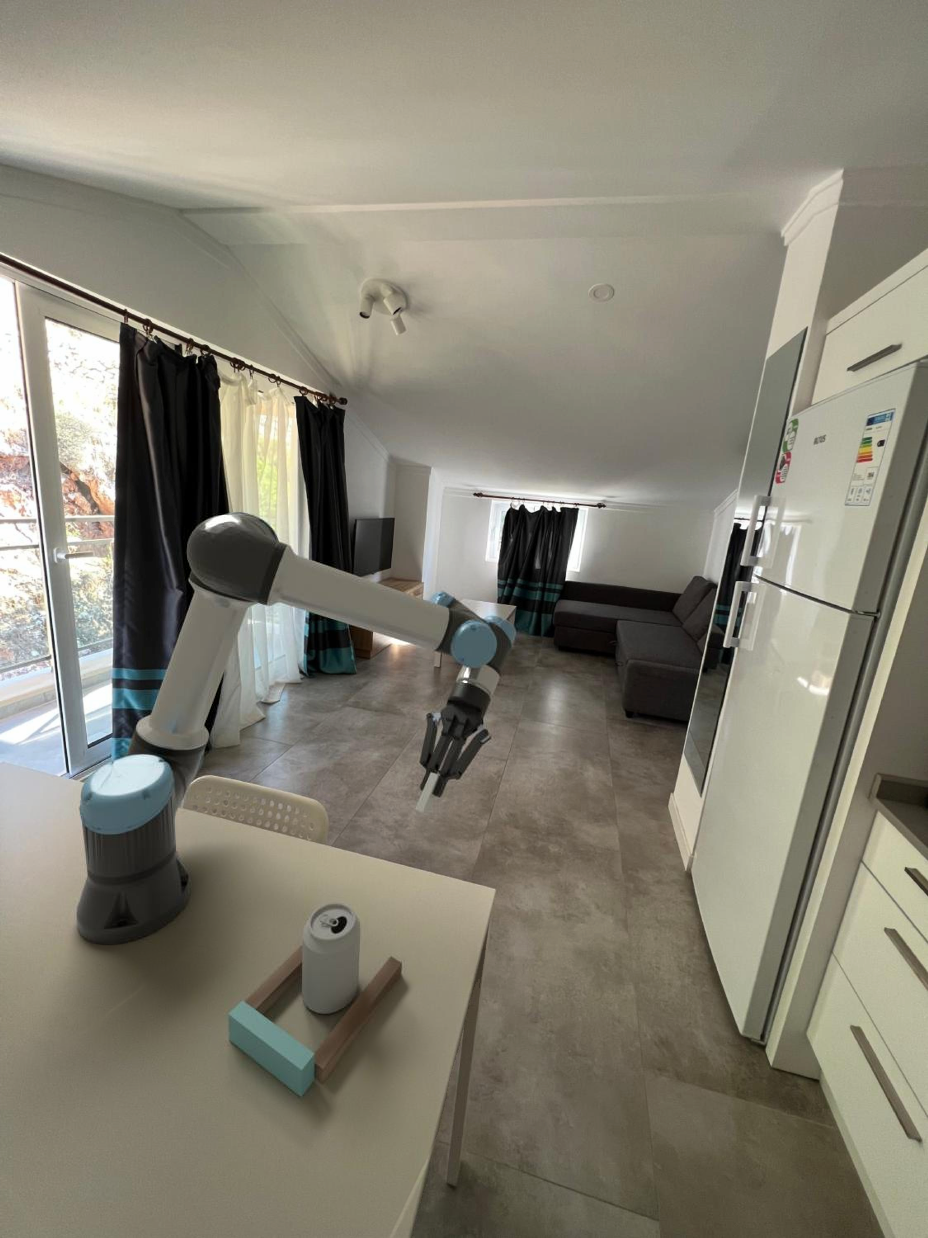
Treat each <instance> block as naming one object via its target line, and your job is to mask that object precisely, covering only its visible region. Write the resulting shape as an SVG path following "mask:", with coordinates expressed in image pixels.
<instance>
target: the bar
mask: <svg viewBox="0 0 928 1238" xmlns="http://www.w3.org/2000/svg"><path fill="white" fill-rule="evenodd" d="M244 1001H245V1000H241V1001H240V1002H239V1003H238V1004H237V1005H236V1006H235V1007H234V1008H233V1009H232V1010H231V1011H230V1012H229V1013H228V1015H227V1017H228V1018H227V1019H228V1040H229V1041H230V1042H231V1043H232V1044H234V1045H235V1046H236V1047H238V1049H240V1050H241V1051H243V1053H245V1054H246V1055H247V1056H249V1057H250V1058H251V1059H253V1061H255V1062H256V1063H258V1065H260V1066H262V1067H263V1069H265V1070H266V1071H267V1072H268V1073H270V1074H271V1075H273V1076H274V1077H275V1078H276V1079H277V1080H279V1081H280V1082H281V1083H282V1084H284V1085H285V1086H286V1087H287V1088H289V1089H290V1091H292V1092H294V1093H295V1094H296V1095H297V1096H299V1097H300V1098H302V1097H303V1096H304V1094H305V1093H307V1091H308V1089H310V1086H311V1085H312V1084H313V1083H314V1081H315V1077H314V1059H315V1054H314V1053H315V1052H313V1051H312V1050H310V1049H309V1048H307V1046H305V1045H303V1044H302V1043H301V1042H299V1041H298V1040H297V1039H296V1038H294V1037H293V1036H291V1035H290V1034H289V1033H287V1032H286V1031H284V1030H283V1029H282V1028H280V1027H279V1026H278V1025H277V1024H275V1023H274V1022H273V1021H271V1020H269V1018H268V1017H265V1016H264V1014H263V1015H262V1014H260V1013H259V1012H258V1011H256V1010H255V1009H253V1008H252V1007H251V1006H249V1005H248V1004H247V1003H245V1002H244Z"/></svg>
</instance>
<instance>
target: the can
mask: <svg viewBox="0 0 928 1238" xmlns="http://www.w3.org/2000/svg"><path fill="white" fill-rule="evenodd" d="M361 931H362V930H361V921H360V919H359V917H358V916H357V914H356V912H355V910H354V909H353V908H352V907H351V906H350V905H348V904H346V903H344V902H337V901H334V902H328V903H325V904H323V905H321V906H319V907H317V908H316V909H315V910H313V912H312V913H311V914H310V916H309V918H308V919H307V921H306V922H305V925H304V927H303V929H302V944H303V949H302V974H301V998H302V1000H303V1002H304V1004H305V1006H307V1008H308V1009H309V1010H311V1011H313V1012H314V1013H318V1014H326V1015H327V1014H333V1013H335V1012H338V1011H340V1010H342V1009H344V1008H345V1007H346V1006H348V1005H349V1004H350V1003H352V1000H354V997H355V996H356V994H357V990H358V988H359V973H360V972H359V971H360V948H361Z"/></svg>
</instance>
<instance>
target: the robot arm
mask: <svg viewBox="0 0 928 1238" xmlns="http://www.w3.org/2000/svg"><path fill="white" fill-rule="evenodd" d="M186 555H187V556H186V557H187V562H188V563H189V567H190V569H191V571H190V574H189V577H188V582H189V584H190V585H191V587H192V589H193V590H194V593H193V596H192V599H191V602H190V604H189V607H188V610H187V613H186V616H185V618H184V622H183V624H182V627H181V630H180V632H179V635H178V638H177V641H176V644H175V647H174V649H173V652H172V653H171V654H172V655H171V658H170V660H169V663H168V667H167V669H166V672H165V673H164V674H165V675H164V677H163V680H162V682H161V686H160V688H159V691H158V694H157V697H156V699H155V703H154V705H153V707H152V710H151V713H150V714H149V715H146V716H145V717H143V718H141V719H139V720H138V722H137V724H136V726H135V729H134V732H133V734H132V737H131V740H130V742H129V746H128V748H127V751H126V753H125V756H123V757H120V758H116V759H114V760H112V761H111V763H110V764H108V763H107V764H103V765H102V766H99V767H98V768H97V769H96V770H95V771H93V772H92V773H91V774H90V776H88V777H87V779H86V780H85V782H84V783H83V785H82V788H81V790H80V791H81V792H80V801H79V807H78V808H79V816H80V819H81V828H82V836H83V845H84V853H85V855H84V856H85V862H86V864H85V865H86V873H87V876H86V879H85V882H84V886H83V888H82V891H81V895H80V898H79V902H78V904H77V906H76V907H77V908H76V915H75V916H76V924H77V929H78V932H79V935H81V936H82V937H83V938H84V939H85V940H86V941H88V942H92V943H95V944H99V945H119V944H122V943H123V944H124V943H128V942H132V941H135V940H138V939H141V938H144V937H146V936H148V935H151V934H152V933H155V932H156V931H158V930H160V929H162V928H163V927H165V926H166V925H168V924H169V923H171V922H172V920H174V919H175V918H176V917H177V916H178V915H179V914H180V913H181V912H182V911H183V910H184V908H185V906H186V905H187V904H188V901H189V899H190V896H191V877H190V874H189V871H188V870H187V868H186V866H185V864H184V862H183V860H182V858H181V856H180V854H179V852H178V851H177V839H176V815H177V811H178V809H179V808H180V805H182V801H183V800H184V798H185V795H187V792H188V789H189V788H190V786H191V785H192V783H193V780H194V779H195V777H196V775H197V774H198V773H199V771H200V769H201V767H202V764H203V760H204V754H205V749H206V746H207V744H208V741H209V739H210V734H209V733H210V732H209V731H208V729H207V728H206V726H205V723H206V720H207V718H208V715H209V713H210V710H211V707H212V704H213V702H214V699H215V697H216V693H217V691H218V688H219V685H220V683H221V681H222V678H223V675H224V672H225V670H226V667H227V664H228V662H229V659H230V657H231V654H232V652H233V649H234V645H235V644H236V640H237V639H238V638H237V637H238V635H239V632H240V630H241V627H242V624H243V622H244V619H245V616H246V613H247V612H248V609H249V608H251V607H252V606H255V605H257V604H259V605H263V606H265V607H270V606H274V605H276V604H278V603H280V604H284V605H287V606H290V607H293V608H297V609H298V610H299V609H300V610H302V611H305V612H309V613H311V614H314V615H319V616H321V617H325V618H329V619H332V620H334V621H339V622H340V623H344V624H347V625H350V626H354V627H357V628H361V629H364V630H367V631H369V632H373V633H377V634H379V635H381V636H382V635H383V636H385V637H388V638H393V639H395V640H399V641H402V642H406V643H408V644H411V645H415V646H418V647H421V648H424V649H428V650H431V651H434V652H437V653H439V654H442V655H444V656H445V655H446V656H449V657H452V658H453V659H454V661H455V662H457V663H459V664H461V669H460V670H459V672H458V675H457V678H456V683H454V684H453V686H452V689H451V691H450V692H449V695H448V697H447V701H446V704H445V706H443V707H442V708H441V710H440V712H436V713H432V712H428V713H426V715H425V716H426V717H425V719H426V728H425V729H426V730H425V733H424V739H423V744H422V749H421V753H420V758H419V764H420V765H421V766H422V767H423V768H424V769H425V771H426V772H425V774H424V776H423V777H422V778H423V779H422V780H421V783H420V785H419V790H421V791H422V792H421V794H420V797H419V799H418V801H417V803H416V806H415V808H414V809H415V811H417V812H418V813H419V814H421V815H423V816H426V817H429V815H430V813H431V811H432V808H433V805H434V804H435V801H436V798H441V797H442V796H443V793H444V791H445V789H446V786H447V783H448V782H449V781H450V780H457V781H458V780H460V779H461V778H462V776H463V775H464V774H465V772H466V771H467V769H468V767H469V766H470V764H471V763H472V761H473V760H474V758H475V757H476V756H477V754H478V753H479V752H480V750H481V749H482V746H485V744H486V743H487V742H489V741H491V739H492V735H491V733H490V731H489V730H488V728H485V727H484V723H485V722H484V717H485V715H486V713H487V710H488V708H489V706H490V703H491V700H492V699H491V697H492V696H494V693H495V690H496V688H497V685H498V682H499V680H500V678H501V675H502V673H503V669H504V668H505V665H506V663H507V661H508V658H509V656H510V654H511V652H512V650H513V646H514V643H515V639H516V636H517V630H516V627H515V626H514V625H513V624H512V623H511V622H510V621H509V620H507V619H506V618H502V617H501V616H498V615H488V616H486V617H484V618H482V617H480V616H479V615H478V614H476V612H474V611H473V610H471V609H470V608H469V607H468V606H466V605H465V604H463V603H462V602H461V601H460V600H458V599H457V598H456V597H455V596H452V595H450V594H449V593H447V592H446V591H444V590H438V591H436V592H435V593H433V594H432V595H431V596H430V598H428V600H427V599H424V598H421V597H418V596H416V595H413V594H410V593H407V592H403V591H402V590H401V591H400V590H398V589H395V588H392V587H390V586H386V585H383V584H381V583H378V582H375V581H372V580H369V579H366V578H363V577H362V576H361V577H360V576H358V575H356V574H352V573H349V572H347V571H344V570H340V569H338V568H335V567H332V566H329V565H326V564H323V563H320V562H317V561H315V560H312V559H309V558H307V557H303V556H302V555H301V556H300V555H298V554H296V553H295V552H294V549H293V547H292V546H291V545H289V544H287V543H285V542H281V541H280V540H279V538H278V535H277V533H276V531H275V529H273V527H272V526H271V524H269V523H268V522H267V521H265V520H264V519H263V518H261V517H259V516H256V515H255V514H251V513H248V512H244V511H243V512H242V511H235V512H228V513H226V514H222V515H215V516H213V517H209V518H208V519H206V520H204V521H202V522H200V524H198V525H197V526H196V527H195V529H194V530H193V531H192V532H191V534H190V536H189V537H188V541H187V547H186ZM440 724H442V729H441V730H440V736H439V738H438V741H437V743H436V740H437V736H438V727H439V726H440ZM473 734H475V735H474V736H473V738H471V740H470V742H469V743H468V745H467V746H466V748H464V750H463V752H462V749H463V747H464V746H465V745H466V743H467V741H468V738H469V737H470V736H472V735H473ZM435 745H436V746H435ZM461 752H462V753H461Z"/></svg>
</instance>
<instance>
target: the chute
mask: <svg viewBox="0 0 928 1238" xmlns="http://www.w3.org/2000/svg"><path fill="white" fill-rule="evenodd" d="M302 949H303V943H302V944H301V945H300V946H299V947H298V948H297V949H296V950H295V951H294V952H293V953H292V954H291V955H290V956H289V957H288V958H287V959H286V960H285V961H284V962H283V963H282V964H281V965H280V966H279V967H278V968H277V969H276V970H274V972H272V974H271V975H269V977H268V978H267V979H265V980H264V981H263V982H262V983H261V984H260V985H259V987H257V988H256V989H255V990H254V991H253V992H252V993H251V994H250V995H249V996H248V997H247V998H246V999H244V1000H243V1001H244V1002H245V1003H247V1004H248V1005H249V1006H251V1007H252V1008H253V1009H255V1010H256V1011H258V1012H259V1013H260V1014H262V1015H263V1016H264V1015H265V1013H266V1012H267V1011H268V1010H269V1009H271V1007H272V1006H273V1005H274V1004H275V1003H276V1002H277V1001H278V1000H279V999H280V998H281V997H282V996H283V994H284V993H286V991H287V990H288V989H289V988H291V986H292V985H293V984H294V983H295V982H296V981H297V980H298V979H299V978H300V977H301V976H302ZM402 970H403V963H402V962H401V961H400V960H398V959H396V958H395V957H393V956H391V955H390V956H389V958H388V959H387V960H386V961H385V963H384V964H383V965H382V967H381V968H380V969H379V970H378V971H377V973H376V974H375V976H373V978H372V979H371V980H370V982H369V983H368V984H367V985H366V987H364V990H362V992H361V993H360V994H359V995H358V997H357V998H356V1000H355V1001H354V1002H353V1003H352V1005H351V1006H350V1007H349V1008H348V1010H347V1011H346V1012H345V1013H344V1015H343V1016H342V1018H341V1019H340V1020H339V1021H338V1022H337V1024H336V1025H335V1026H334V1028H333V1029H332V1030H331V1031H330V1033H329V1034H328V1035H327V1037H326V1038H325V1039H324V1040H323V1042H322V1043H321V1044H320V1045H319V1046H318V1048H317V1050H316V1051H315V1052H313V1053H314V1054H315V1059H314V1079H316V1080H317V1081H319V1082H320V1083H321V1084H323V1083H324V1081H326V1079H327V1078H328V1076H329V1075H330V1074H331V1072H332V1071H333V1070H334V1068H335V1066H336V1065H337V1064H338V1062H339V1061H340V1060H341V1058H342V1057H343V1056H344V1054H345V1053H346V1052H347V1050H348V1049H349V1048H350V1046H351V1045H352V1043H353V1042H354V1041H355V1039H356V1038H357V1036H359V1034H360V1032H361V1031H362V1029H363V1028H364V1026H366V1024H367V1023H368V1021H369V1020H370V1019H371V1018H372V1016H373V1015H374V1013H375V1012H376V1010H377V1009H378V1008H379V1006H380V1005H381V1003H382V1002H384V1001H383V1000H385V998H386V997H387V995H388V994H389V993H390V991H391V990H392V988H393V987H394V985H395V984H396V983H397V982H398V981H399V979H400V977H401V976H402Z"/></svg>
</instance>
